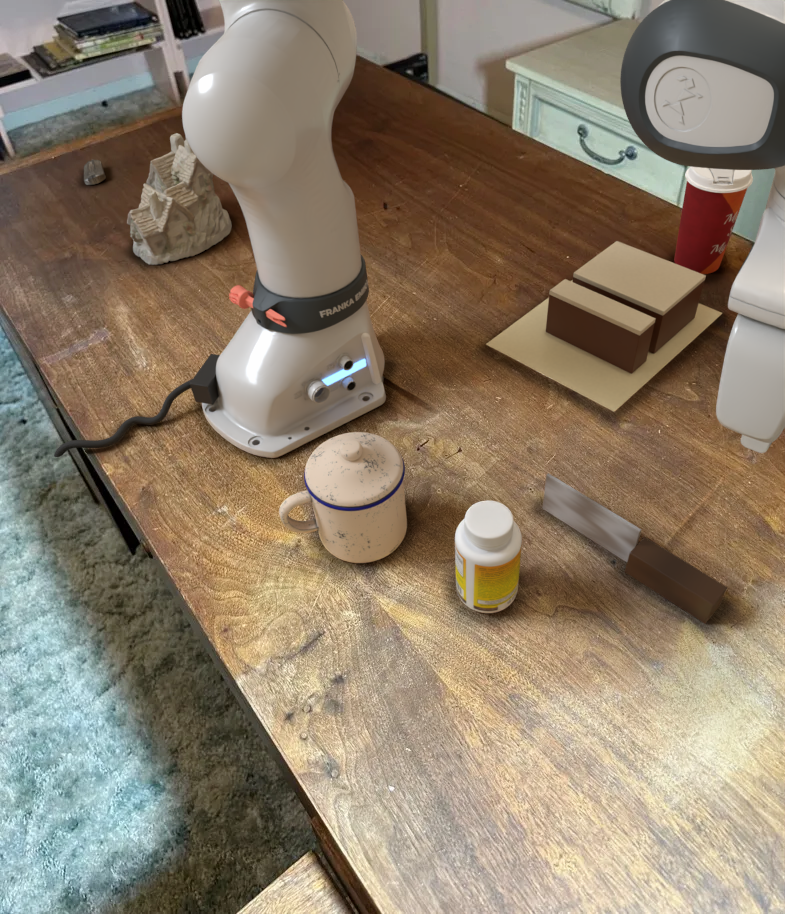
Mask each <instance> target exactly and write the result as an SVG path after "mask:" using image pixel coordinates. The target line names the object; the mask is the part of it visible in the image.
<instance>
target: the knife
mask: <svg viewBox="0 0 785 914" xmlns="http://www.w3.org/2000/svg"><path fill="white" fill-rule="evenodd" d="M542 510H543V511H545V512H547V513H548V514H550V515H551V516H553V517H555V518H557V520H560V521H561V522H563V523H564V524H566V525H567V526H569V527H571V528H572V529H574V530H575V531H576V532H578V533H580V534H581V535H583V536H584V537H586V538H588V539H589V540H591V541H592V542H594V543H596V544H597V545H599V546H600V547H601V548H603V549H605V550H606V551H608V552H610V553H611V554H613V555H615V556H616V557H617V558H619V559H620V560H622V561H624V562H626V566H625V569H624V573H626V574H627V575H628V576H630V577H631V578H633V579H635V580H636V581H638V582H639V583H640V584H643V585H644V586H646V588H649V589H650V590H652V591H654V592H655V593H656V594H658V595H660V596H661V597H662V598H664V599H665V600H667V601H669V602H670V603H672V604H673V605H675V606H676V607H678V608H680V609H681V610H683V611H684V612H686V613H688V614H689V615H690V616H692V617H693V618H695V619H697V620H698V621H699V622H702V623H703V624H707V623H708V621H709V620H710V619H711V617H713V615H714V614H715V612H716V611H717V610H718V609H719V608H720V605H721V603H722V602H723V599H724V597H725V594H726V592H727V590H728V586H726V585H725V584H723V583H721V582H719V581H718V580H716V579H715V578H713V577H711V576H710V575H708V574H706V573H705V572H703V571H701V570H700V569H698V568H696V567H695V566H693V564H690V563H689V562H687V561H685V560H683V559H682V558H680V557H679V556H677V555H675V554H674V553H672V552H670V551H669V550H667V549H665V548H664V547H662V546H661V545H659V544H657V543H656V542H654V541H652V540H651V539H650V538H648V537H646V536H644V537H643V538H642V539H641V540H640V537H641V533H642V528H640V527H638V526H637V525H635V524H633V523H632V522H630V521H628V520H627V519H625V518H623V517H622V516H620V515H619V514H618V513H615V512H613V511H612V510H610V509H608V508H607V507H605V506H604V505H602V504H601V503H599V502H597V501H595V500H594V499H592V498H591V497H589V496H587V495H586V494H584V493H583V492H580V491H579V490H577V489H576V488H573V487H572V486H570V485H569V484H567V483H565V482H564V481H562V480H561V479H559V478H557V477H556V476H554V475H552V474H550V473H549V472H548V473H546V474H545V484H544V493H543V499H542Z"/></svg>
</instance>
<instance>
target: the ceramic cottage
mask: <svg viewBox="0 0 785 914" xmlns="http://www.w3.org/2000/svg"><path fill="white" fill-rule="evenodd" d="M169 140H170V141H169V142H170V152H168V153H166V154H164V155H162V156H160V157H156V158H154V159H152V160H150V164H149V173H148V177H147V178H146V182H145V183H143V188H142V192H141V195H140V203H139V204H138V208H135V209H130V210H129V211H128V213H127V219H126V224H127V225H129V226H130V228H129V230H130V231H129V234H130V235H129V236H130V238H131V239H132V240H133V241H132V242H133V245H132V251H133V253H134V255H135V256H136V257H138V258H140V259H141V260H142V261H143V262H145V263H146V264H148V265H152V266H157V265H163V264H164V263H169V261H170V262H175V261H178V260H180V259H181V260H182V259H184V258H189V257H194V256H195V255H198V254H200V253H202V252H204V251H205V250H209V249H210V248H211V247H213V246H214V245H215V246H216V245H217V244H219V242H221V241H222V240H224V238H227V236H228V235H230V233H231V231H232V221H231V218H230V214H229V213H228V211H227V210H226V209H224V208H223V205H222V203H221V199H220V197H219V196H218V195H217V194H216V192H215V191H216V190H215V185H214V181H213V178H214V176H215V175H214V174H213V173H212V172H210V171H209V170H208V169H207V168H206V167H205V166H204V165H203V164H202V163H201V162H200V161H199V159H198V158H197V157H196V155H195V154H194V152H193V151H192V149H191V147H190V145H189V143H188V141H187V138H186V137H185V140H184V137H183V136H182V135H181V134H180V133H177V132H176V133H174V134H170V137H169Z"/></svg>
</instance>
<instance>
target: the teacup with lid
mask: <svg viewBox="0 0 785 914" xmlns="http://www.w3.org/2000/svg"><path fill="white" fill-rule="evenodd" d="M405 474H406V465H405V461H404V457H403V455H402V454H401V452H400V451H399V450H398V447H396V445H394V444H393V443H392V442H391V441H390V440H388V439H387V438H385V437H383V436H381V435H378V434H375V433H370V432H366V431H365V432H364V431H353V432H346V433H342V434H338V435H335V436H333V437H330V438H328V439H326V440H325V441H323V442H321V444H319V445H318V446H316V448H315V449H314V451H313V452H311V454H310V456H309V457H308V459H307V461H306V464H305V467H304V473H303V480H304V485H305V488H306V490H302V491H299V492H296V493H293V494H290V495H289V496H287V497H286V498H285V499H284V500H283V501H282V503H281V504H280V506H279V509H278V514H279V518H280V521H281V523H282V524H283V526H284V527H285V528H286V529H288V530H289V531H291V532H293V533H299V534H308V533H313V532H316V531H318V534H319V539H320V542H321V543H322V545H323V547H324V548H325V549H326V550H327V552H328V553H330V554H331V555H332V556H334V557H335V558H337V559H339V560H341V561H345V562H348V563H354V564H367V563H372V562H376V561H379V560H381V559H383V558H386V557H387V556H389V555H391V554H392V553H393V552H394V551H396V549H398V547H399V546H400V545H401V543H402V542H403V541H404V539H405V537H406V534H407V530H408V529H407V528H408V519H407V518H408V517H407V508H406V507H407V506H406V496H405V483H404V478H405ZM309 503H311V504H312V509H313V512H314V518H311V519H307V520H297V519H294V518H293V517H290V516H289V514H290V513H291V511H292V510H294V509H295V508H297V507H299V506H302V505H305V504H309Z"/></svg>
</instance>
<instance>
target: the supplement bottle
mask: <svg viewBox="0 0 785 914" xmlns="http://www.w3.org/2000/svg"><path fill="white" fill-rule="evenodd" d="M522 535H523V534H522V531H521V529H520V527H519V525H518V524H517V523H516V521H515V520H514V515H513V512H512V511H511V509H510V508H509V507H508V506H506V505H505V504H503V503H502V502H500V501H496V500H489V499H488V500H487V499H486V500H482V501H477V502H475V503H473V504H472V505H470V507H468V509H467V510H466V512H465V515H464V518H463V519H462V520H461V521H460V522H459V524H458V525H457V527H456V530H455V532H454V559H455V560H454V563H455V589H456V594H457V596H458V598H459V599H460V601H461V602H462V603H463V604H464V605H465V606H466V607H467V608H469V609H471V610H472V611H475V612H478V613H483V614H494V613H498V612H502V611H503V610H505V609H507V608H508V607H509V606H510V605H512V603H513V602H514V600H515V599H516V597H517V594H518V590H519V579H520V570H521V569H520V568H521V556H522V546H523V545H522V544H523V536H522Z"/></svg>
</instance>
